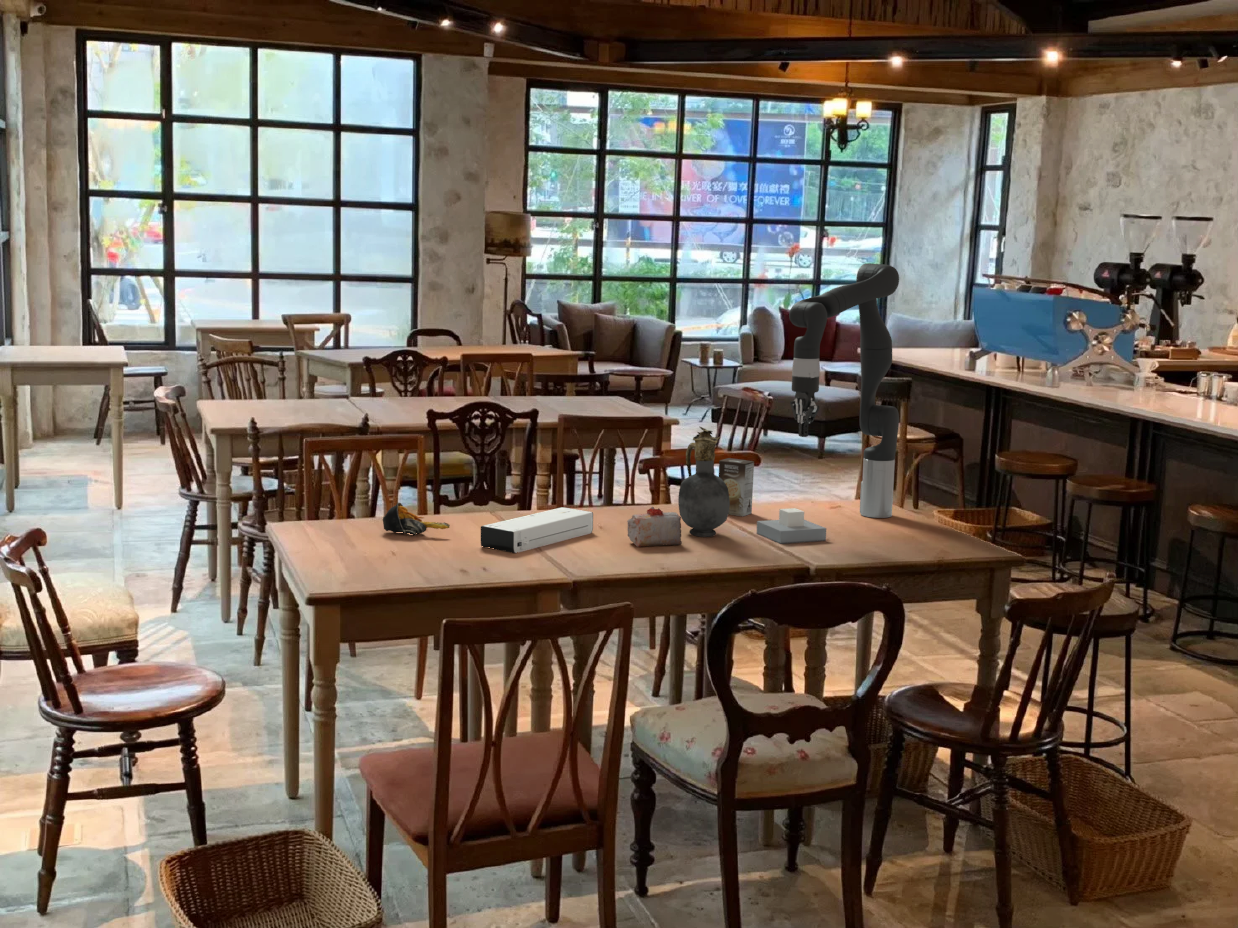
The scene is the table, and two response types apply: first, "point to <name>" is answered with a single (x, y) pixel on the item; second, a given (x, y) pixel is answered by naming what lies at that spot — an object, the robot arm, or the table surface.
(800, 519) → the plug
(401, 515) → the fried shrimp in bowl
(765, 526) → the socket plate
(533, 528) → the laminator
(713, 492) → the pitcher
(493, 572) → the table surface
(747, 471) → the coffee box
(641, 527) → the food item
